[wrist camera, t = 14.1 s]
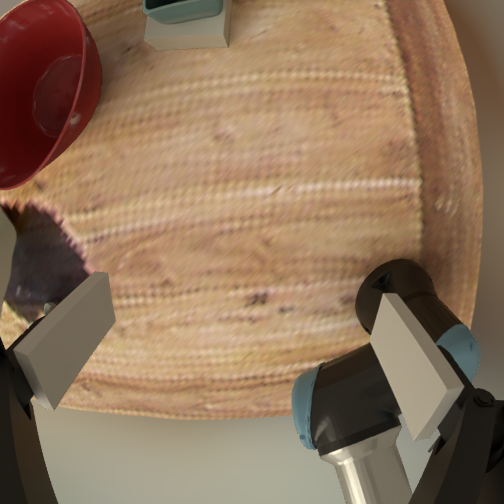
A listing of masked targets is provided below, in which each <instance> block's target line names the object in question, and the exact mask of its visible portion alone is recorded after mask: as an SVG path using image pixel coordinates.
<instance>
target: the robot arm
mask: <svg viewBox="0 0 504 504" xmlns="http://www.w3.org/2000/svg"><path fill="white" fill-rule="evenodd" d="M355 308H356V314H357V317H358V319H359V321H360V323H361V325H362V327H363V328H364V330H365V331H366V332H367V333H368V334H370V335H371V337H370V340H369V341H370V343H368V344H366V345H363V346H361V347H359V348H357V349H355V350H353V351H351V352H349V353H347V354H344V355H342V356H340V357H338V358H335V359H333V360H331V361H328V362H326V363H325V362H324V363H321V364H319V365H318V366H317V367H315V368H313V369H311V370H309V371H307V372H304V373H302V374H301V375H300V376H299V377H298V378H297V379H296V381H295V383H294V386H293V389H292V412H293V418H294V423H295V427H296V430H297V433H298V434H299V435H300V440H301V442H302V444H303V445H304V446H305V447H306V448H307V449H313V450H316V449H318V452H319V456H320V458H321V459H322V460H324V461H326V462H328V463H331V464H332V465H334V466H335V469H336V472H337V475H338V479H339V482H340V485H341V489H342V492H343V495H344V499H345V502H346V504H504V400H502V401H501V400H495V398H494V396H493V395H492V394H491V393H490V392H488V391H486V390H484V389H480V388H477V389H475V388H474V387H473V385H472V384H471V381H472V380H473V378H474V377H475V375H476V373H477V370H478V368H479V364H480V357H481V351H480V347H479V344H478V342H477V341H476V339H475V338H474V337H473V336H472V334H471V333H470V330H469V328H468V327H467V326H466V325H464V324H463V323H462V322H461V321H460V320H459V319H458V318H457V317H456V316H455V315H454V314H453V312H452V311H451V310H450V309H449V308H448V307H447V306H446V305H445V304H444V303H443V302H442V301H441V300H440V299H439V298H438V297H437V294H436V292H435V290H434V286H433V282H432V280H431V278H430V276H429V275H428V273H427V272H426V271H425V270H424V269H423V268H422V267H421V266H419V265H418V264H417V263H415V262H413V261H410V260H394V261H390V262H387V263H385V264H383V265H381V266H379V267H378V268H376V269H375V270H374V271H373V272H372V273H371V274H370V275H369V276H368V277H367V278H366V279H365V280H364V282H363V283H362V285H361V287H360V289H359V291H358V294H357V297H356V304H355ZM115 321H116V320H115V314H114V309H113V303H112V296H111V290H110V283H109V276H108V273H104V272H96V271H95V272H94V273H93V274H92V275H91V276H89V277H88V278H87V279H86V280H85V281H84V282H83V283H82V284H80V285H79V286H78V287H77V288H76V289H75V290H74V291H73V292H72V293H70V294H69V295H68V296H67V297H66V298H65V299H64V300H63V301H62V302H61V303H60V304H59V305H57V306H56V307H55V308H54V309H53V310H52V311H51V312H50V313H49V314H48V315H47V316H43V317H41V318H40V319H38V320H36V321H35V322H34V323H33V324H32V325H31V326H30V327H29V329H27V330H26V331H24V332H23V334H21V335H20V336H19V337H18V338H17V339H16V340H15V341H14V343H13V344H12V345H11V346H10V347H9V348H8V349H7V350H6V349H5V347H4V345H3V342H2V340H1V337H0V504H58V502H57V499H56V496H55V493H54V490H53V488H52V485H51V481H50V478H49V475H48V471H47V468H46V464H45V461H44V457H43V453H42V449H41V445H40V441H39V436H38V432H37V426H36V422H35V416H34V410H33V405H32V403H31V401H30V399H31V398H32V397H33V395H34V396H35V398H36V400H37V401H38V403H39V405H41V406H43V407H46V408H48V409H50V410H53V411H54V410H55V409H56V407H57V405H58V404H59V402H60V401H61V399H62V398H63V396H64V395H65V393H66V392H67V390H68V389H69V387H70V386H71V384H72V383H73V381H74V380H75V378H76V377H77V375H78V374H79V372H80V371H81V369H82V368H83V366H84V365H85V363H86V362H87V360H88V359H89V358H90V356H91V355H92V353H93V352H94V350H95V349H96V348H97V346H98V345H99V343H100V342H101V341H102V339H103V338H104V336H105V335H106V334H107V332H108V331H109V330H110V328H111V327H112V325H113V324H114V323H115ZM400 414H403V416H404V419H405V421H406V423H407V426H408V428H409V430H410V433H411V436H412V438H413V441H414V442H415V441H419V440H424V439H428V438H431V436H432V435H433V433H434V432H435V431H436V429H437V428H438V430H439V432H440V434H441V435H440V436H439V438H438V439H437V440H436V442H435V443H434V444H433V445H432V447H431V448H430V449H429V451H428V452H431V451H432V450H433V451H432V454H431V456H430V458H429V461H428V463H427V466H426V468H425V470H424V472H423V475H422V477H421V479H420V481H419V483H418V485H417V487H416V489H415V491H414V493H413V494H412V491H411V488H410V485H409V482H408V478H407V475H406V472H405V469H404V466H403V463H402V460H401V457H400V454H399V451H398V449H397V446H396V439H397V437H398V435H399V432H400V430H401V428H402V426H401V423H400V421H399V418H398V415H400Z"/></svg>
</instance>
